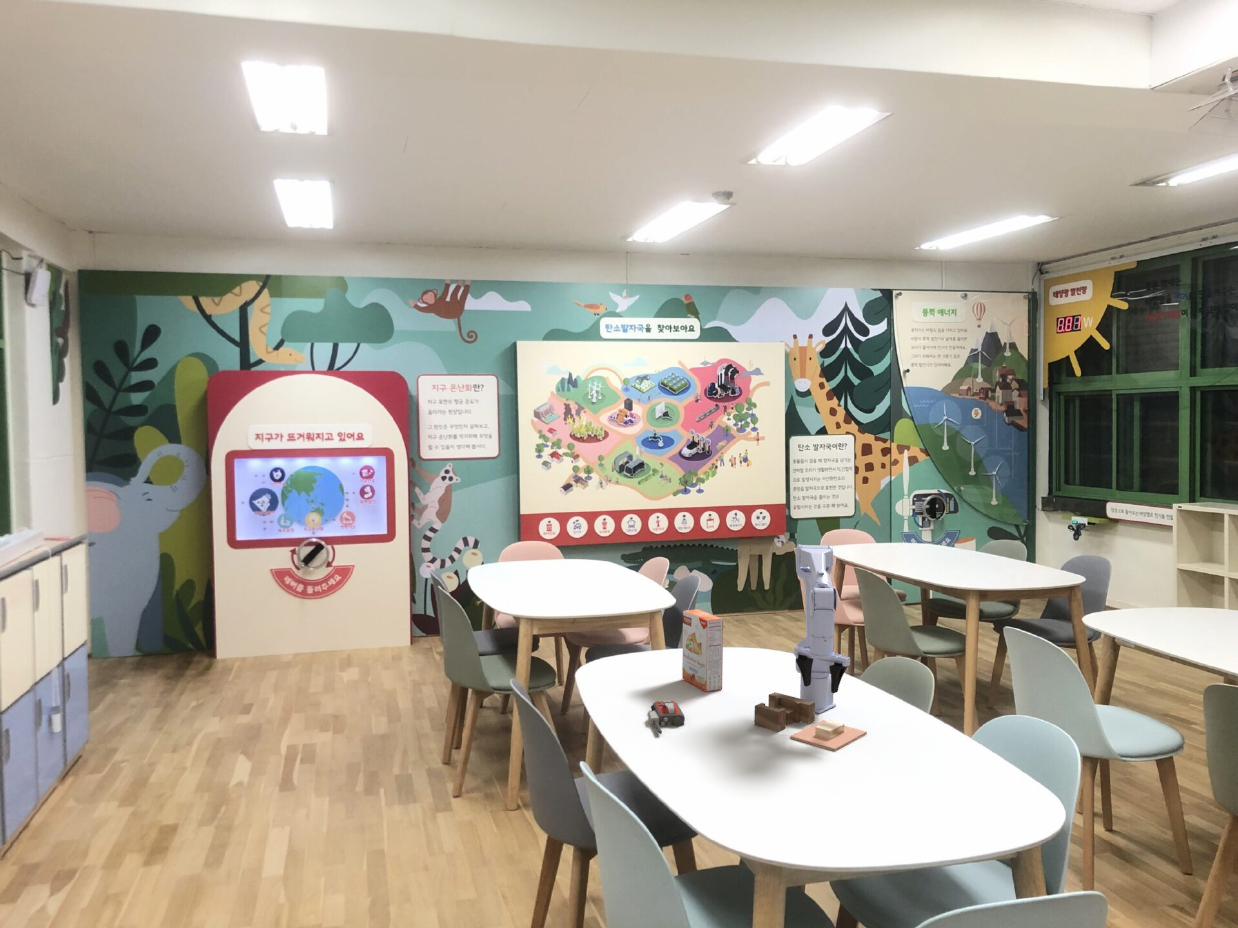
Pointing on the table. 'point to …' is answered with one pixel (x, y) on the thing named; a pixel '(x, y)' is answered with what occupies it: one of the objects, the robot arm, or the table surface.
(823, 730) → the slab
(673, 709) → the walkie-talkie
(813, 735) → the mat
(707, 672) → the cracker box
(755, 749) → the table surface
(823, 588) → the robot arm
